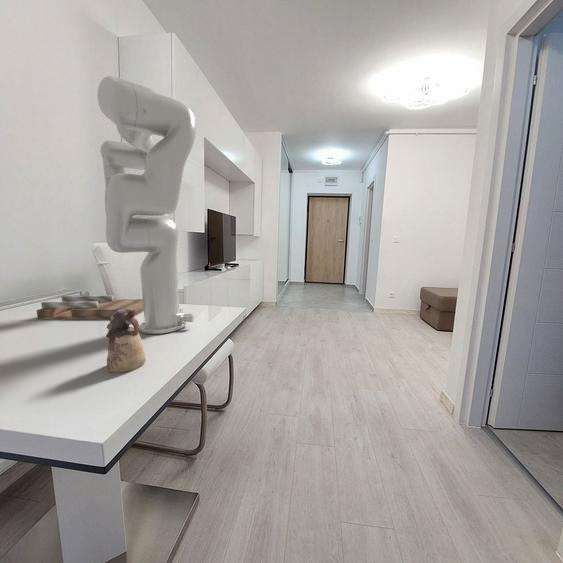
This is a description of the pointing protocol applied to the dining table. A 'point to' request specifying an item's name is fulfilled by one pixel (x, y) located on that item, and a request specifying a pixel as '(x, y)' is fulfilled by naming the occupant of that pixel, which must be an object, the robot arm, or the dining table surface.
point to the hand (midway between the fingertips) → (123, 238)
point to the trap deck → (87, 307)
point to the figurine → (124, 343)
